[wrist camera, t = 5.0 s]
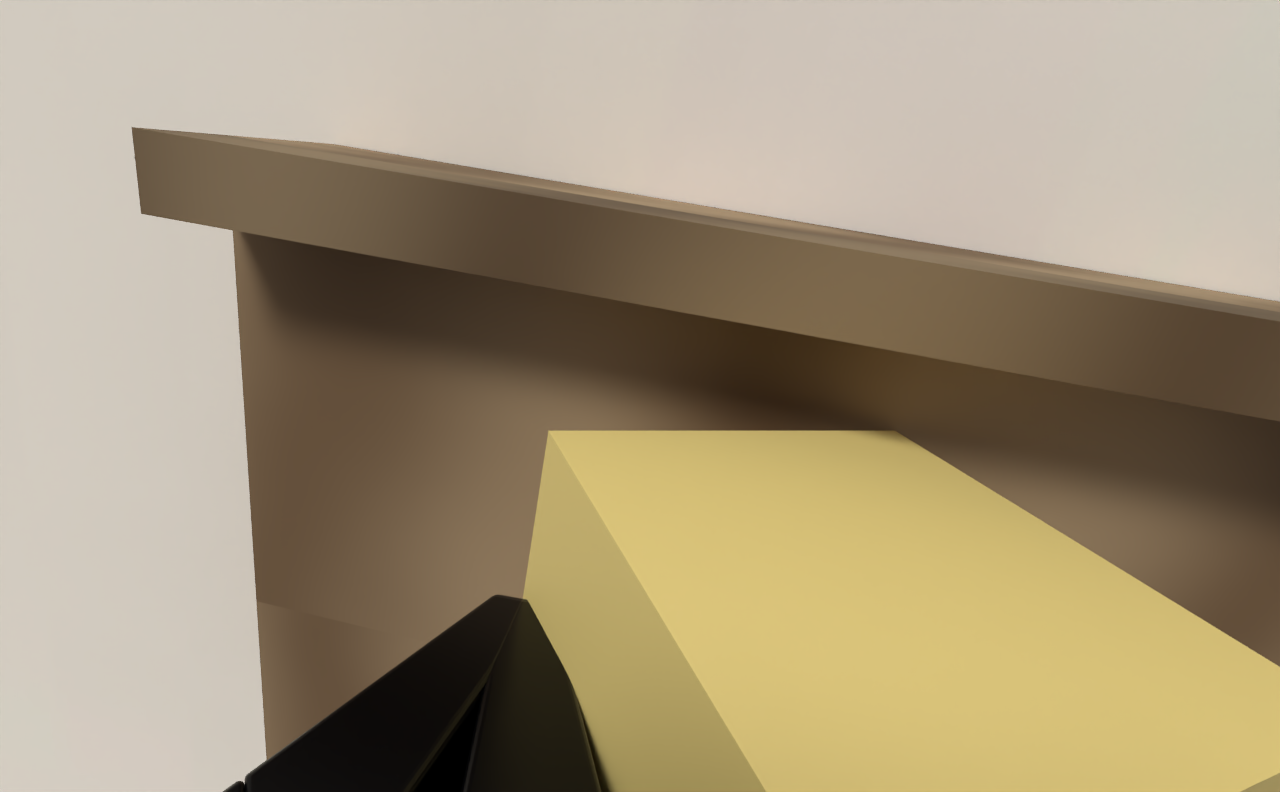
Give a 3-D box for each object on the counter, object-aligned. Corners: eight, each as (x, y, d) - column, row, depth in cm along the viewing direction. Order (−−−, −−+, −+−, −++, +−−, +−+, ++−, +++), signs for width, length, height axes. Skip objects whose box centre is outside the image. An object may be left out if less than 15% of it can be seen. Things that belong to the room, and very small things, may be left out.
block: (894, 431, 9) (1377, 727, 5) (796, 701, 11) (1087, 1092, 6) (548, 430, 7) (871, 967, 3) (496, 768, 9) (642, 1413, 4)
